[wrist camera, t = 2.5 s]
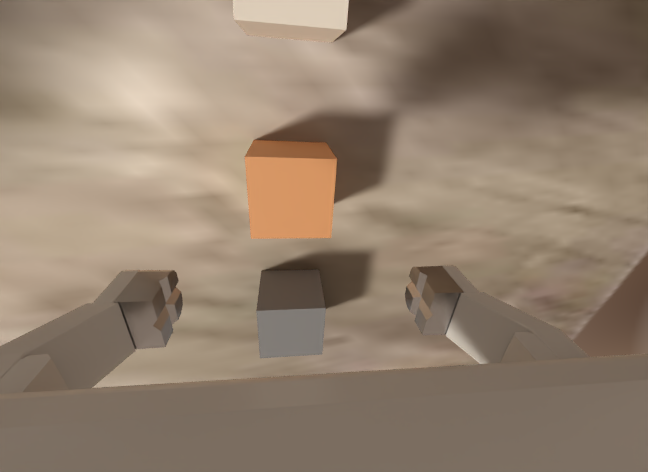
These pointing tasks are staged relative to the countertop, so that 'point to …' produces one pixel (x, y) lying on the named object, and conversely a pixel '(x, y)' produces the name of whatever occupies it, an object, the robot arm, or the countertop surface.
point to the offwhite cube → (292, 18)
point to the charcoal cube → (290, 313)
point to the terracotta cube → (290, 189)
